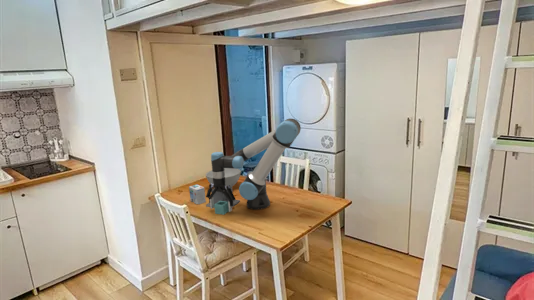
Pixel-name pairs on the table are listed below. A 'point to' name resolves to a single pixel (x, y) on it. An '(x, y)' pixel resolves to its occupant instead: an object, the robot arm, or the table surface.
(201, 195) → the light bulb box
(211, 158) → the robot arm
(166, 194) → the table surface
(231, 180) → the decorative bowl
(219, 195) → the bearing block
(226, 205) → the sleeve
